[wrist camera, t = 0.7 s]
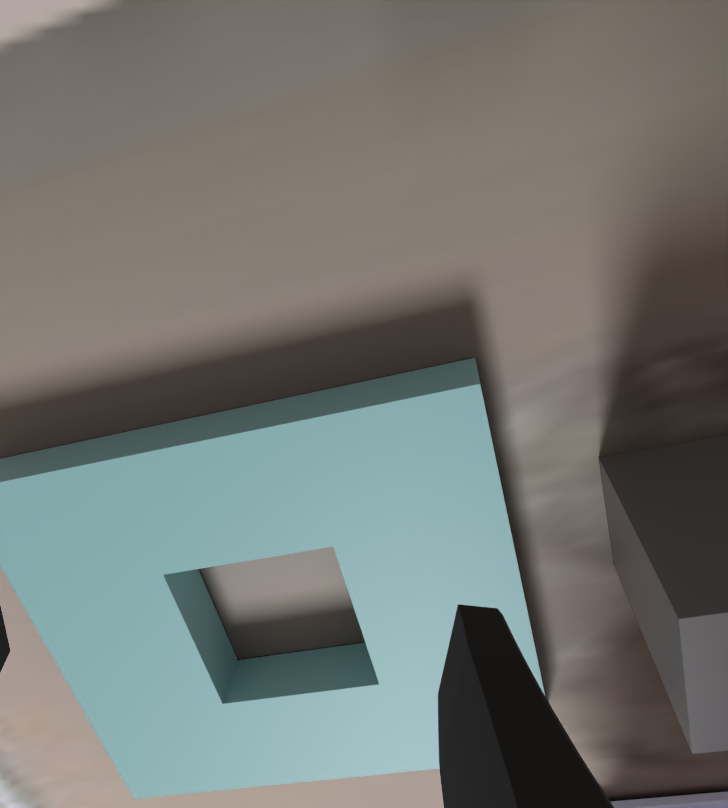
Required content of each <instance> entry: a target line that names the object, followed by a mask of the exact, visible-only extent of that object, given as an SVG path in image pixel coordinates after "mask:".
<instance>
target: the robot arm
mask: <svg viewBox="0 0 728 808" xmlns="http://www.w3.org/2000/svg"><path fill="white" fill-rule="evenodd" d="M9 652H10V648H9V643H8V639H7V634H6V629H5V625H4V620H3V616H2V611H1V607H0V672H1V670H2V667H3V665H4V663H5V661H6V659H7V657H8V654H9ZM438 739H439V766H440V775H441V784H442V792H443V801H444V808H728V791H727V792H715V793H703V794H692V795H680V796H668V797H657V798H645V799H634V800H622V801H610V800H609V799H608V797H607V796H606V794H605V793H604V791H603V790H602V788H601V787H600V785H599V784H598V782H597V781H596V779H595V778H594V776H593V775H592V773H591V772H590V770H589V769H588V767H587V765H586V764H585V762H584V761H583V759H582V757H581V756H580V754H579V753H578V751H577V749H576V748H575V746H574V744H573V743H572V741H571V739H570V738H569V736H568V734H567V733H566V731H565V729H564V728H563V726H562V724H561V723H560V721H559V719H558V718H557V716H556V714H555V713H554V711H553V709H552V708H551V706H550V704H549V702H548V700H547V699H546V697H545V695H544V693H543V692H542V690H541V688H540V686H539V684H538V683H537V681H536V679H535V677H534V675H533V673H532V671H531V670H530V668H529V666H528V664H527V662H526V660H525V658H524V656H523V654H522V653H521V651H520V649H519V647H518V645H517V643H516V641H515V639H514V637H513V635H512V633H511V631H510V629H509V627H508V625H507V622H506V620H505V618H504V616H503V614H502V613H501V612H500V611H499V610H498V608H489V607H480V606H470V605H460V604H458V607H457V611H456V615H455V620H454V624H453V629H452V633H451V638H450V642H449V647H448V651H447V656H446V660H445V664H444V669H443V673H442V678H441V682H440V687H439V691H438Z"/></svg>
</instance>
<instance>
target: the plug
mask: <svg viewBox="0 0 728 808" xmlns="http://www.w3.org/2000/svg"><path fill="white" fill-rule="evenodd" d="M599 464H600V471H601V479H602V486H603V493H604V500H605V507H606V514H607V521H608V528H609V535H610V542H611V549H612V556H613V563H614V566H615V568H616V571H617V573H618V576H619V578H620V580H621V583H622V585H623V588H624V590H625V593H626V595H627V597H628V600H629V602H630V605H631V607H632V610H633V612H634V614H635V617H636V619H637V622H638V624H639V627H640V629H641V631H642V634H643V636H644V639H645V641H646V643H647V646H648V648H649V651H650V653H651V656H652V658H653V660H654V663H655V665H656V668H657V670H658V673H659V675H660V677H661V680H662V682H663V685H664V687H665V690H666V692H667V694H668V697H669V699H670V702H671V704H672V706H673V709H674V711H675V714H676V716H677V719H678V721H679V723H680V726H681V728H682V731H683V733H684V736H685V738H686V740H687V743H688V745H689V748H690V750H691V753H692V754H698V753H708V752H719V751H728V435H722V436H716V437H711V438H705V439H700V440H694V441H688V442H683V443H677V444H672V445H666V446H660V447H655V448H649V449H644V450H638V451H632V452H627V453H621V454H616V455H610V456H604V457H599Z"/></svg>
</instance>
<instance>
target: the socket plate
mask: <svg viewBox="0 0 728 808" xmlns="http://www.w3.org/2000/svg"><path fill="white" fill-rule="evenodd" d="M327 547H334V550H335V553H336V556H337V559H338V562H339V565H340V568H341V571H342V574H343V577H344V580H345V583H346V586H347V589H348V592H349V595H350V598H351V601H352V604H353V607H354V610H355V613H356V616H357V619H358V622H359V625H360V628H361V631H362V634H363V637H364V640H365V643H359V644H351V645H344V646H337V647H329V648H322V649H315V650H308V651H300V652H293V653H286V654H279V655H271V656H264V657H257V658H250V659H242V660H238V659H237V657H236V655H235V653H234V650H233V648H232V646H231V643H230V641H229V639H228V636H227V634H226V632H225V629H224V627H223V625H222V623H221V620H220V618H219V616H218V613H217V611H216V609H215V606H214V604H213V602H212V600H211V597H210V595H209V593H208V590H207V588H206V586H205V583H204V581H203V579H202V576H201V574H200V572H199V570H198V569H201V568H207V567H213V566H219V565H225V564H231V563H237V562H243V561H249V560H255V559H261V558H267V557H273V556H279V555H285V554H291V553H297V552H303V551H309V550H315V549H321V548H327ZM0 566H1V568H2V569H3V571H4V573H5V575H6V576H7V578H8V580H9V582H10V583H11V585H12V587H13V589H14V590H15V592H16V594H17V596H18V597H19V599H20V601H21V603H22V604H23V606H24V608H25V610H26V611H27V613H28V615H29V617H30V618H31V620H32V622H33V624H34V625H35V627H36V629H37V631H38V632H39V634H40V636H41V638H42V639H43V641H44V643H45V644H46V646H47V648H48V650H49V651H50V653H51V655H52V657H53V658H54V660H55V662H56V664H57V665H58V667H59V669H60V671H61V672H62V674H63V676H64V678H65V679H66V681H67V683H68V685H69V686H70V688H71V690H72V692H73V693H74V695H75V697H76V699H77V700H78V702H79V704H80V706H81V707H82V709H83V711H84V713H85V714H86V716H87V718H88V720H89V721H90V723H91V725H92V727H93V728H94V730H95V732H96V734H97V735H98V737H99V739H100V741H101V742H102V744H103V746H104V748H105V749H106V751H107V753H108V755H109V756H110V758H111V760H112V762H113V763H114V765H115V767H116V769H117V770H118V772H119V774H120V776H121V777H122V779H123V781H124V783H125V784H126V786H127V788H128V790H129V791H130V793H131V795H132V797H133V798H134V799H138V798H148V797H158V796H168V795H178V794H188V793H198V792H208V791H218V790H228V789H238V788H248V787H258V786H268V785H279V784H289V783H299V782H309V781H319V780H329V779H339V778H349V777H359V776H369V775H379V774H389V773H399V772H409V771H419V770H429V769H439V768H440V766H439V739H438V691H439V687H440V682H441V678H442V673H443V669H444V664H445V660H446V656H447V651H448V647H449V642H450V638H451V633H452V629H453V624H454V620H455V615H456V611H457V607H458V604H460V605H470V606H480V607H489V608H498V610H499V611H500V612H501V613H502V614H503V616H504V618H505V620H506V622H507V625H508V627H509V629H510V631H511V633H512V635H513V637H514V639H515V641H516V643H517V645H518V647H519V649H520V651H521V653H522V654H523V656H524V658H525V660H526V662H527V664H528V666H529V668H530V670H531V671H532V673H533V675H534V677H535V679H536V681H537V683H538V684H539V686H540V688H541V690H542V692H543V693H544V695H545V691H544V686H543V682H542V677H541V672H540V667H539V662H538V658H537V653H536V648H535V643H534V638H533V634H532V629H531V624H530V619H529V614H528V610H527V605H526V600H525V595H524V590H523V585H522V581H521V576H520V571H519V566H518V561H517V557H516V552H515V547H514V542H513V537H512V533H511V528H510V523H509V518H508V513H507V509H506V504H505V499H504V494H503V489H502V485H501V480H500V475H499V470H498V465H497V461H496V456H495V451H494V446H493V441H492V436H491V432H490V427H489V422H488V417H487V412H486V408H485V403H484V398H483V393H482V388H481V384H480V379H479V374H478V369H477V364H476V360H475V358H472V359H467V360H462V361H457V362H453V363H448V364H443V365H439V366H434V367H429V368H424V369H420V370H415V371H410V372H406V373H401V374H396V375H391V376H387V377H382V378H377V379H373V380H368V381H363V382H359V383H354V384H349V385H344V386H340V387H335V388H330V389H326V390H321V391H316V392H311V393H307V394H302V395H297V396H293V397H288V398H283V399H278V400H274V401H269V402H264V403H260V404H255V405H250V406H246V407H241V408H236V409H231V410H227V411H222V412H217V413H213V414H208V415H203V416H198V417H194V418H189V419H184V420H180V421H175V422H170V423H165V424H161V425H156V426H151V427H147V428H142V429H137V430H133V431H128V432H123V433H118V434H114V435H109V436H104V437H100V438H95V439H90V440H85V441H81V442H76V443H71V444H67V445H62V446H57V447H52V448H48V449H43V450H38V451H34V452H29V453H24V454H19V455H15V456H10V457H5V458H1V459H0ZM545 697H546V696H545Z"/></svg>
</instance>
